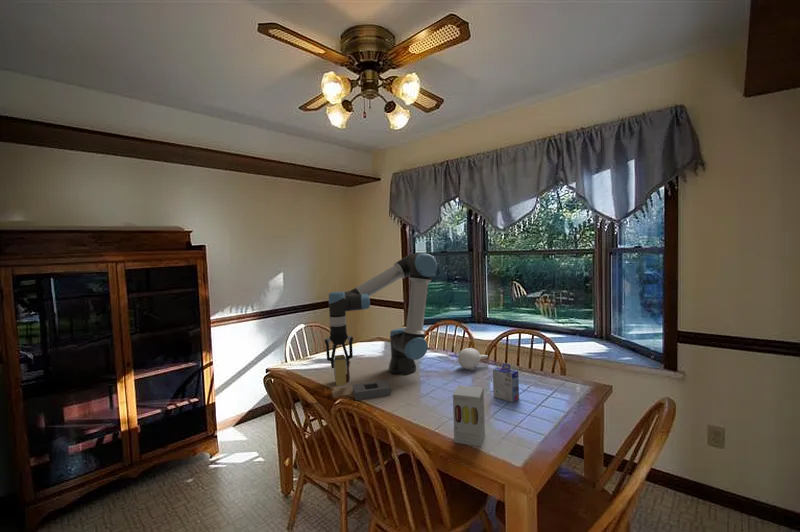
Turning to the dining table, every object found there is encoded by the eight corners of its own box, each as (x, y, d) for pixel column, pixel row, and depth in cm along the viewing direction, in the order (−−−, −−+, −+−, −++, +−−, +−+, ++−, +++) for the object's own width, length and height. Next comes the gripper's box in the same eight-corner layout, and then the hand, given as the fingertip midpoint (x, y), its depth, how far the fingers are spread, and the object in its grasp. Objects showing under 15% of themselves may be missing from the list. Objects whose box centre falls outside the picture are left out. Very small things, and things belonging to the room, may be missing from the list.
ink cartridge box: (520, 399, 155) (518, 365, 154) (513, 403, 151) (511, 369, 151) (500, 393, 162) (498, 361, 162) (492, 396, 159) (491, 364, 158)
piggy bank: (467, 376, 189) (484, 370, 199) (473, 356, 187) (490, 351, 197) (450, 364, 198) (467, 360, 208) (455, 345, 196) (472, 341, 206)
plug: (345, 381, 173) (344, 354, 173) (346, 384, 169) (345, 357, 169) (335, 382, 172) (334, 355, 172) (336, 385, 168) (335, 358, 167)
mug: (337, 378, 191) (336, 359, 190) (353, 379, 189) (352, 360, 188) (329, 387, 179) (327, 367, 178) (345, 388, 177) (344, 367, 177)
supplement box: (453, 442, 123) (451, 394, 122) (459, 429, 131) (457, 384, 131) (482, 447, 119) (480, 397, 119) (485, 433, 128) (484, 386, 127)
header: (386, 388, 174) (385, 380, 174) (390, 396, 165) (390, 387, 164) (353, 393, 170) (352, 384, 170) (355, 401, 161) (355, 392, 160)
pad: (350, 388, 177) (350, 387, 176) (352, 395, 168) (352, 394, 168) (331, 391, 174) (331, 389, 174) (333, 398, 166) (333, 396, 166)
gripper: (355, 321, 175) (358, 369, 176) (318, 325, 171) (321, 373, 172) (357, 324, 168) (360, 374, 169) (319, 328, 164) (322, 378, 165)
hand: (340, 373), depth 171 cm, fingers closed on plug, 4 cm apart
